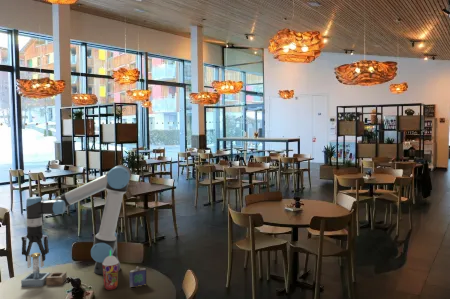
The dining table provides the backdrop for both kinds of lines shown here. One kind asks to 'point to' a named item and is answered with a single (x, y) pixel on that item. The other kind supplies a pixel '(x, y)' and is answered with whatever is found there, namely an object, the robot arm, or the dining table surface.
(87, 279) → the dining table surface
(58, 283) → the block
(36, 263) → the pin
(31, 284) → the tray
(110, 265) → the smoothie
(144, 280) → the flask
